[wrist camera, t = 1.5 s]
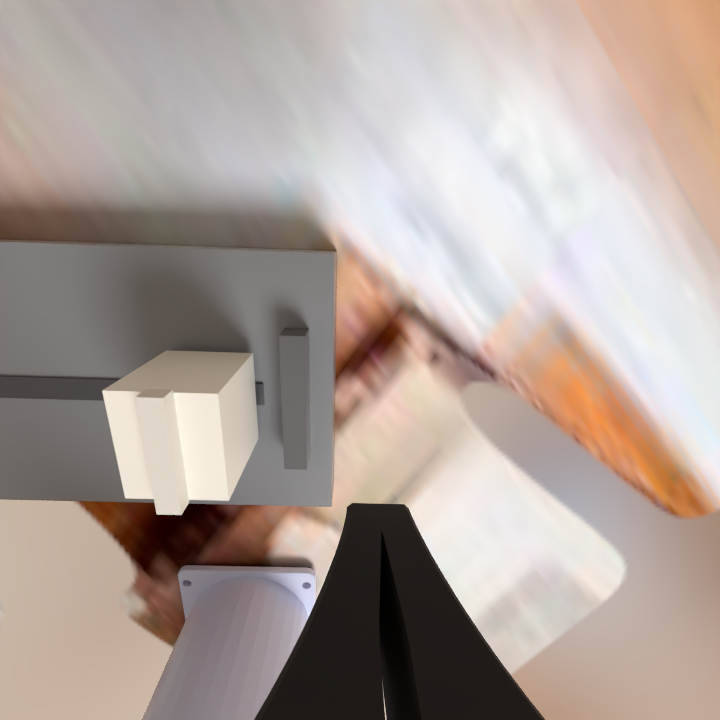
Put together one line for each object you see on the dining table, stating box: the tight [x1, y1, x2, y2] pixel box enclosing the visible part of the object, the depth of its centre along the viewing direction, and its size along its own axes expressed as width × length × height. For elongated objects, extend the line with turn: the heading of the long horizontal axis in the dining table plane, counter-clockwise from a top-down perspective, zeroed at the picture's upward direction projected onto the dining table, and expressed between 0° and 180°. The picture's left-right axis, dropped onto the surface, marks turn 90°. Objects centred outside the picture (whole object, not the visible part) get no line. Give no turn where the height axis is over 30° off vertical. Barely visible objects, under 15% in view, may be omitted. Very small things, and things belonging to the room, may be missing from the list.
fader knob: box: [102, 350, 259, 515], centre depth 13 cm, size 4×4×5 cm
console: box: [0, 239, 337, 507], centre depth 16 cm, size 12×28×3 cm, turn 88°
